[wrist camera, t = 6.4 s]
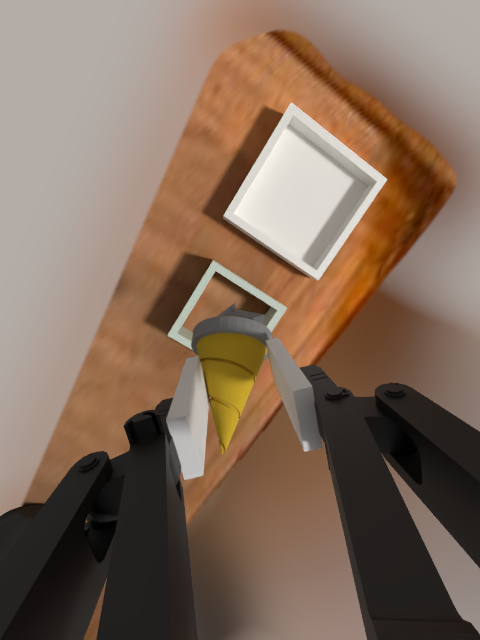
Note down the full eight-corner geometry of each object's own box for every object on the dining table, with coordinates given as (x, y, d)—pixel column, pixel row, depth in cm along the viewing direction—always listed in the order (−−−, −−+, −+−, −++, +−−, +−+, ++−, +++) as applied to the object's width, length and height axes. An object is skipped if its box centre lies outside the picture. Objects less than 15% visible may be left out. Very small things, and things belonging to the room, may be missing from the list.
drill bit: (282, 313, 21) (286, 459, 16) (221, 326, 24) (207, 458, 18) (254, 270, 17) (246, 446, 12) (183, 290, 19) (152, 446, 14)
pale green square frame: (238, 365, 36) (240, 377, 32) (172, 327, 34) (167, 335, 31) (280, 303, 34) (287, 308, 31) (213, 259, 33) (213, 260, 29)
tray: (311, 278, 34) (318, 280, 32) (223, 218, 32) (223, 215, 29) (374, 185, 32) (387, 179, 30) (285, 114, 30) (291, 102, 28)
